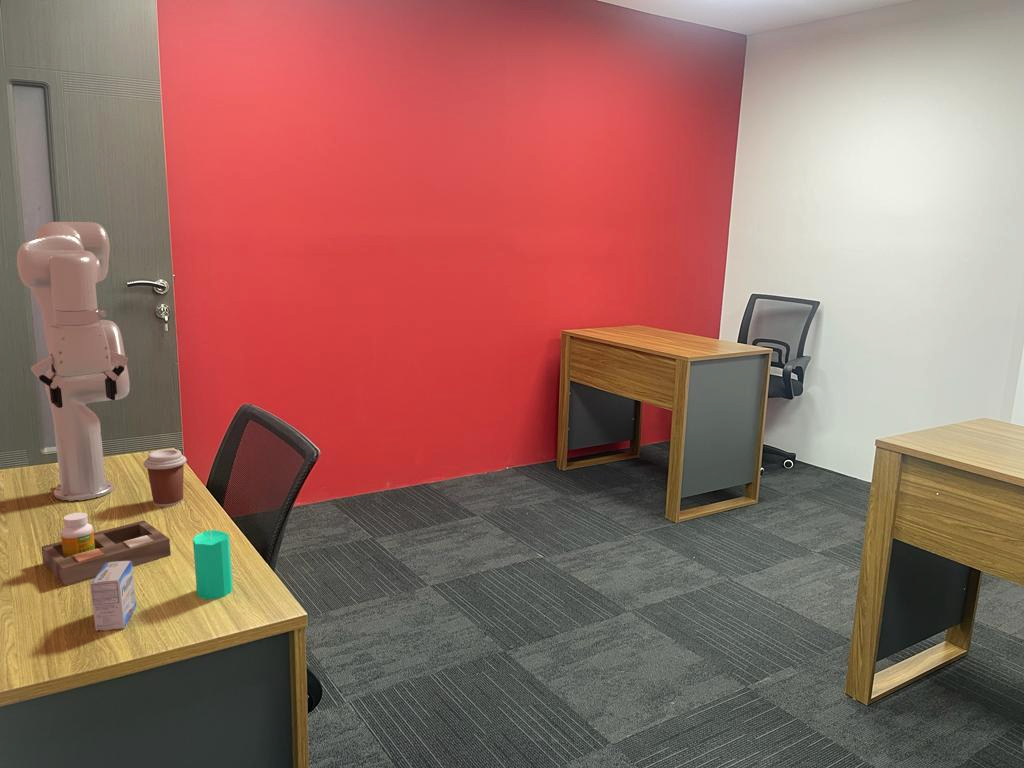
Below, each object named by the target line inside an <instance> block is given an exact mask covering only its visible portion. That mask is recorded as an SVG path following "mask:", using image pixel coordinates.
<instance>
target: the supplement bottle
mask: <svg viewBox="0 0 1024 768" xmlns="http://www.w3.org/2000/svg"><path fill="white" fill-rule="evenodd" d="M88 518H89V517H88V514H87V513H86V512H73V513H69V514H67V515H64V517H63V525H64V527H63V528H62V529H61V530H60V538H61V541H62V548H63V557H64V558H66V557H70V556H72V555H75V554H79V553H82V552H86V551H90V550H93V549H95V543H94V533H95V532H94V528H93V527H94V526H93V525H92V524H90V523H88V522H89V519H88Z"/></svg>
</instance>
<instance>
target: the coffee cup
mask: <svg viewBox="0 0 1024 768" xmlns="http://www.w3.org/2000/svg"><path fill="white" fill-rule="evenodd" d="M186 463H187V457H186V456H185V455H183V454H182V451H181V450H179V449H175V448H164V449H158V450H157V449H156V450H155V451H151V452H149V454H147V458H146V459H144V462H143V467H144V468H145V469H147V474H148V480H149V485H150V490H151V497H152V503H153V505H154V506H155V505H156V506H155V507H158V506H159V508H160V507H161V508H167V507H166V506H170V507H173V506H172V505H175V506H177V505H176V504H178V503H180V502H181V501H183V502H184V471H185V470H184V469H185V468H184V467H185V464H186ZM180 504H181V503H180ZM178 505H179V504H178Z"/></svg>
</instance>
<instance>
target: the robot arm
mask: <svg viewBox="0 0 1024 768" xmlns="http://www.w3.org/2000/svg"><path fill="white" fill-rule="evenodd" d="M110 247H111V245H110V239H109V235H108V233H107V231H106V229H105V227H104V226H102V225H101V224H99V223H97V222H93V221H87V222H86V221H51V222H47V223H45V224H43V225H41V226H40V227H39V228H38V229H37V231H36V234H35V239H32V240H29V241H26V242H24V243H22V244H21V245H20V246H19V248H18V250H17V254H16V266H17V271H18V276H19V279H20V281H21V282H22V284H23V285H24V286H25V287H26V288H29V289H30V290H31V292H32V294H33V296H34V297H35V299H36V301H37V302H38V305H39V307H40V310H41V315H42V321H43V322H42V323H43V329H44V337H45V342H46V348H47V352H48V356H47V357H46V358H44V359H42V360H40V361H39V362H36V363H35V364H34V365H31V367H30V370H31V372H32V373H33V374H34V375H35V376H36V377H37V379H38V380H39V381H40V382H42V383H43V384H44V387H45V392H46V395H47V398H48V403H49V406H50V410H51V415H52V422H53V430H54V440H55V447H56V456H57V465H58V466H57V467H58V476H59V484H60V486H58V487H57V488H56V489H54V491H53V496H55V497H56V498H55V497H54V498H55V499H57V498H58V499H57V500H59V499H61V500H60V501H64V500H68V501H67V502H75V501H74V500H79V501H85V500H86V499H87V500H91V499H96V497H97V498H100V497H103V496H105V495H107V494H109V493H111V492H112V491H113V490H114V483H113V482H112V481H110V480H107V479H106V472H105V471H106V470H105V462H104V451H103V440H102V432H101V422H100V419H99V417H98V416H97V414H96V413H95V412H94V411H92V409H90V408H89V407H88V406H86V404H90V403H91V404H92V403H97V402H98V403H100V402H107V401H115V400H121V399H122V400H123V399H124V398H126V397H127V396H128V395H129V393H130V386H131V384H130V375H129V370H128V364H127V363H128V361H129V357H128V356H126V353H125V352H126V351H125V348H124V341H123V338H122V337H123V336H122V333H121V330H120V328H119V326H118V325H117V324H116V323H115V322H114V321H112V320H108V319H107V320H106V319H102V318H106V317H107V312H106V310H105V309H104V310H101V309H100V308H98V299H97V287H96V285H97V283H99V282H102V281H104V280H105V279H106V278H107V276H108V272H109V264H110V263H109V261H110V260H109V259H110V252H111V251H110V249H111V248H110ZM48 367H49V369H48V370H47V371H46V372H45V373H44V372H43V370H44V369H46V368H48Z"/></svg>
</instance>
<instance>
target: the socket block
mask: <svg viewBox="0 0 1024 768" xmlns="http://www.w3.org/2000/svg"><path fill="white" fill-rule="evenodd" d="M93 533H94V543H95V549H93V550H90V551H86V552H82V553H79V554H75V555H72V556H70V557H66V558H64V557H63V548H62V540H61V541H58V542H57V541H56V542H54V543H49V544H46V545H41V557H42V563H43V565H44V566H45V567H46V568H47V569H48V570H49V571H50V572H51V573H52V574H53V575H54V576H55V578H57V580H58V581H59V582H60V583H61V584H62V585H63V586H64V587H67V586H70V585H73V584H77V583H81V582H85V581H87V580H91V579H95V577H96V576H97V574H98V573H99V572H100V570H101V569H102V567H103V566H104V564H105V563H109V562H116V561H132V566H133V567H136V566H139V565H141V564H142V565H143V564H146V563H148V562H153V561H156V560H160V559H162V558H165V557H166V558H167V557H169V556H171V553H172V552H171V543H170V542H171V541H170V540H171V539H170V538H169V537H168V536H166V535H165V534H164V533H162V531H159V530H158V529H157V528H155V527H154V526H152V525H151V524H150V523H148V522H147V521H145V520H141V521H136V522H132V523H129V524H128V523H127V524H124V525H120V526H116V527H112V528H108V529H104V530H100V531H98V532H93Z"/></svg>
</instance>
